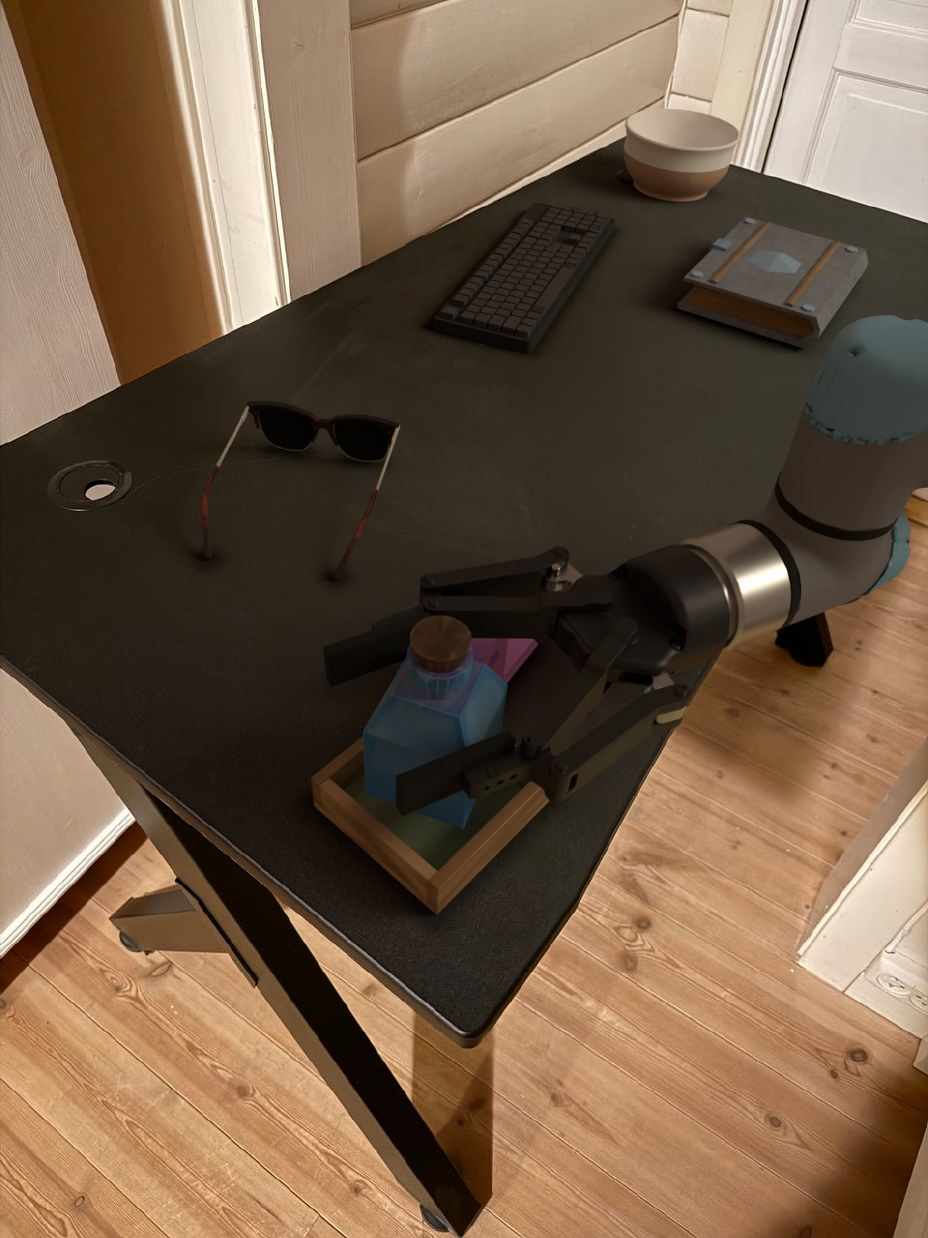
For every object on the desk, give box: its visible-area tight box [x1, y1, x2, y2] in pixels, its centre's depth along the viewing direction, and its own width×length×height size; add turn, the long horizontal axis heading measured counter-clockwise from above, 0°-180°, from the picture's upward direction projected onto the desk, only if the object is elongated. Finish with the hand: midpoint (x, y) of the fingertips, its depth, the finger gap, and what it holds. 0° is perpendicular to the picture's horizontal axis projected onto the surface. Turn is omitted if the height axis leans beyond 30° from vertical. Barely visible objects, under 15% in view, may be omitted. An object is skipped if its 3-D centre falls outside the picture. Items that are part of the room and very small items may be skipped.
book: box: [676, 216, 869, 350], centre depth 107 cm, size 21×16×5 cm
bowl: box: [623, 108, 741, 203], centre depth 128 cm, size 16×16×8 cm
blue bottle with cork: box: [362, 616, 508, 829], centre depth 51 cm, size 6×6×12 cm
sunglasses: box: [201, 400, 401, 580], centre depth 76 cm, size 14×16×5 cm
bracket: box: [470, 638, 539, 685], centre depth 65 cm, size 13×6×7 cm, turn 148°
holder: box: [310, 735, 550, 915], centre depth 56 cm, size 11×11×3 cm
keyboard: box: [434, 202, 616, 354], centre depth 109 cm, size 35×11×2 cm, turn 159°
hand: (361, 728), depth 48 cm, fingers closed on blue bottle with cork, 9 cm apart
